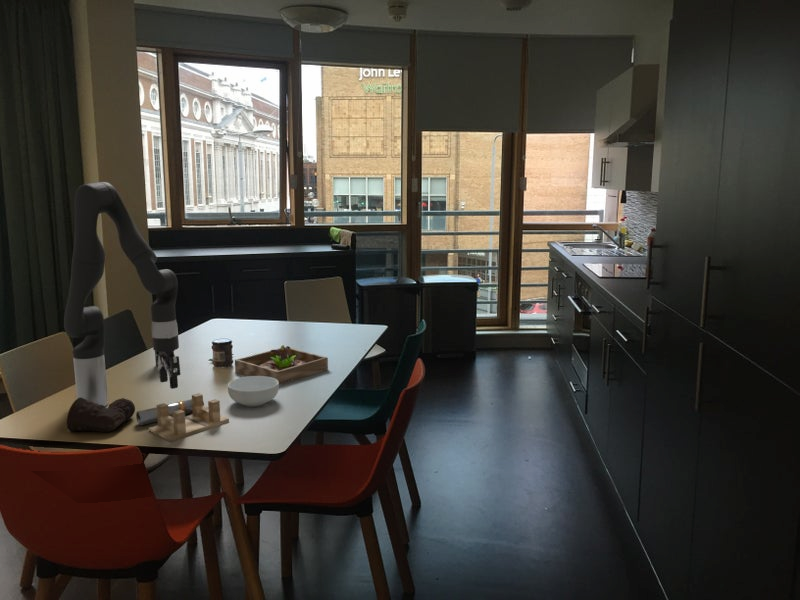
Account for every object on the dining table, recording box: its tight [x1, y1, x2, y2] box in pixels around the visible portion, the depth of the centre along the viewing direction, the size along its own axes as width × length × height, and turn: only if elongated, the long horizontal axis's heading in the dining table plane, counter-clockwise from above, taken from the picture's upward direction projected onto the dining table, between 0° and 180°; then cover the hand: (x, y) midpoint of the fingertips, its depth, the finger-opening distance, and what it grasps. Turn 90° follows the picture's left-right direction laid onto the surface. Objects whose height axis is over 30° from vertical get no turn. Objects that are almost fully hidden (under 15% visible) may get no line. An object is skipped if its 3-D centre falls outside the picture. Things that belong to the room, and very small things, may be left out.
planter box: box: [234, 346, 329, 386], centre depth 253 cm, size 26×26×5 cm
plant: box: [260, 345, 307, 371], centre depth 252 cm, size 20×20×11 cm
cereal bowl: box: [227, 376, 280, 408], centre depth 217 cm, size 17×17×7 cm
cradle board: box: [148, 392, 230, 442], centre depth 195 cm, size 12×20×8 cm, turn 141°
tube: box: [136, 398, 205, 427], centre depth 203 cm, size 20×4×4 cm, turn 131°
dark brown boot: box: [66, 397, 136, 433], centre depth 196 cm, size 10×15×15 cm
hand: (169, 384), depth 201 cm, fingers open, 8 cm apart
